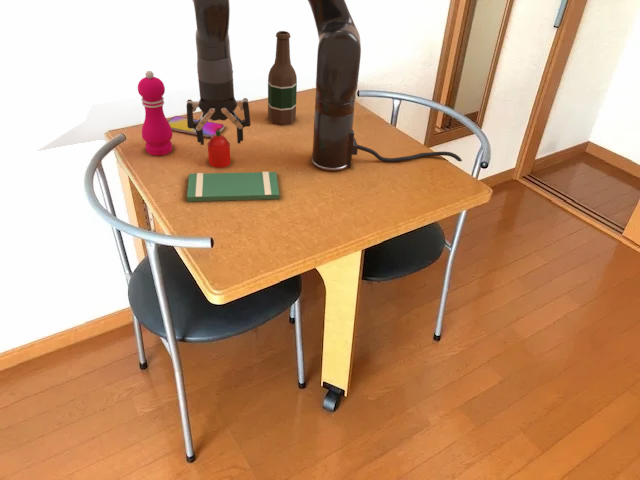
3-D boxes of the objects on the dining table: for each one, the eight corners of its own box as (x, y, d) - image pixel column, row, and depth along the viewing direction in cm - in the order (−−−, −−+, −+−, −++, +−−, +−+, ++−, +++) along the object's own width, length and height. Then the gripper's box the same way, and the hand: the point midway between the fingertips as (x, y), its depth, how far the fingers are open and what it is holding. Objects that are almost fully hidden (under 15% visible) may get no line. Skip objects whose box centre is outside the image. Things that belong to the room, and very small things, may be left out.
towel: (276, 176, 130) (276, 171, 130) (279, 199, 123) (279, 194, 122) (189, 178, 127) (189, 173, 127) (187, 201, 120) (186, 196, 119)
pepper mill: (166, 158, 134) (157, 78, 122) (139, 154, 135) (126, 74, 123) (178, 145, 140) (170, 67, 128) (152, 141, 141) (141, 63, 129)
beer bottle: (294, 126, 152) (297, 38, 138) (266, 124, 152) (266, 36, 138) (296, 114, 159) (299, 28, 144) (269, 113, 158) (269, 27, 144)
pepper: (230, 157, 137) (229, 126, 132) (230, 167, 132) (229, 136, 127) (209, 157, 136) (206, 126, 131) (208, 167, 132) (206, 136, 127)
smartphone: (175, 115, 152) (225, 124, 149) (175, 117, 152) (225, 127, 149) (161, 126, 146) (213, 136, 143) (162, 128, 147) (213, 138, 143)
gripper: (181, 82, 117) (189, 151, 126) (249, 81, 119) (252, 148, 128) (182, 70, 123) (190, 136, 132) (247, 68, 125) (250, 134, 134)
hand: (220, 142), depth 130 cm, fingers open, 8 cm apart
